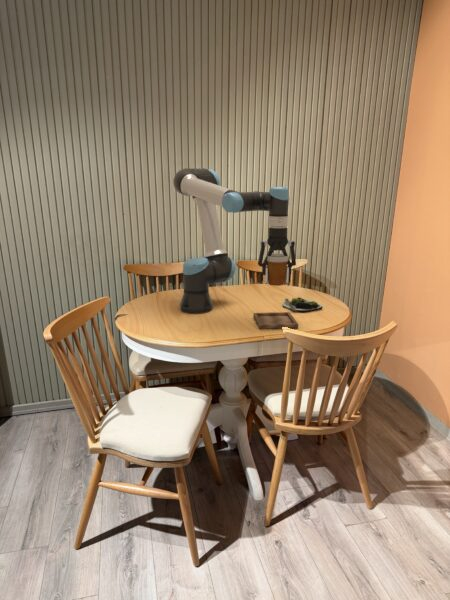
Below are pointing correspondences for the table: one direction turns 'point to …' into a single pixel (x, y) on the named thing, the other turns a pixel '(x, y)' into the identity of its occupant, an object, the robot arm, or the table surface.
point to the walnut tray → (275, 320)
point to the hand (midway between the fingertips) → (276, 282)
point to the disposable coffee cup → (276, 269)
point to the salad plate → (301, 305)
